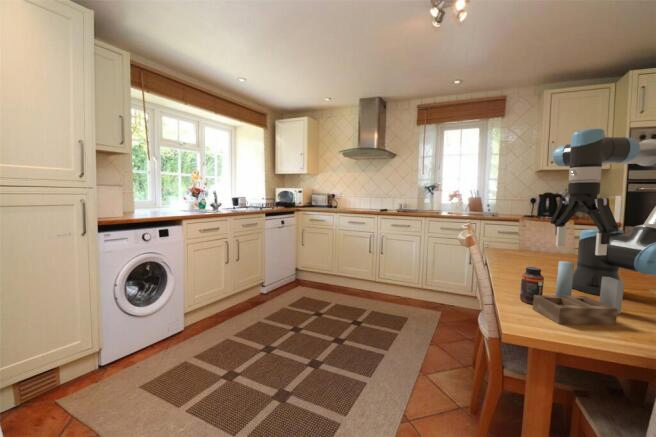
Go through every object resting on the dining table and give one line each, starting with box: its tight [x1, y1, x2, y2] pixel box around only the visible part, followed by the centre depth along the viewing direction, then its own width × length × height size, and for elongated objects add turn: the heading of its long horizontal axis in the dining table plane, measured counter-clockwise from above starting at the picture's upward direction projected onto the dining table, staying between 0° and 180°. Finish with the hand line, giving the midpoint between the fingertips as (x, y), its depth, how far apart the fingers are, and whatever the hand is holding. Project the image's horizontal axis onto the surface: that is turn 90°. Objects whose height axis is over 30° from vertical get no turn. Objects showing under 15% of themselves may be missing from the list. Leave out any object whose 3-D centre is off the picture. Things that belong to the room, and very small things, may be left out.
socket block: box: [532, 294, 618, 326], centre depth 86 cm, size 16×10×4 cm, turn 91°
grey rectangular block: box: [598, 277, 625, 315], centre depth 91 cm, size 2×5×10 cm, turn 1°
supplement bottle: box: [519, 266, 545, 305], centre depth 97 cm, size 6×6×11 cm
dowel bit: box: [555, 260, 575, 296], centre depth 99 cm, size 4×4×13 cm
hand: (579, 250), depth 93 cm, fingers open, 13 cm apart
